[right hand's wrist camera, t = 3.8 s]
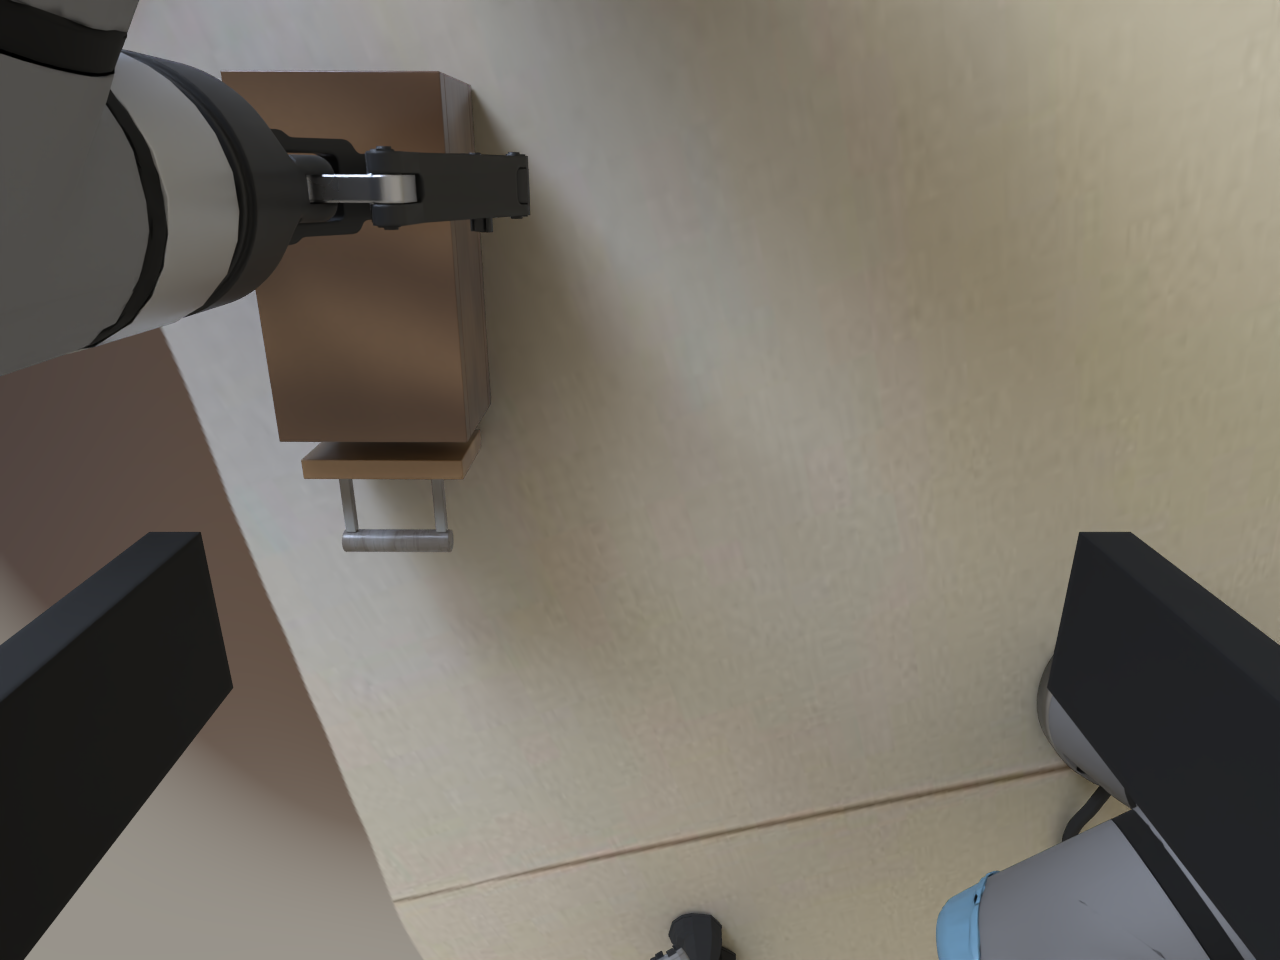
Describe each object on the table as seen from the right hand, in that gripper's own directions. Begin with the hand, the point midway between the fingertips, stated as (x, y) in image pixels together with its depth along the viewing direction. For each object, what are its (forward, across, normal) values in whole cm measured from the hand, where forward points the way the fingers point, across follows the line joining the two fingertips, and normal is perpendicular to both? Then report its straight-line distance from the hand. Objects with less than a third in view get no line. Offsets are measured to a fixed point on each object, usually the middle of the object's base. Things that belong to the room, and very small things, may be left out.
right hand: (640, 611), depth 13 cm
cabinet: (+41, +15, -1) cm, 43 cm away
